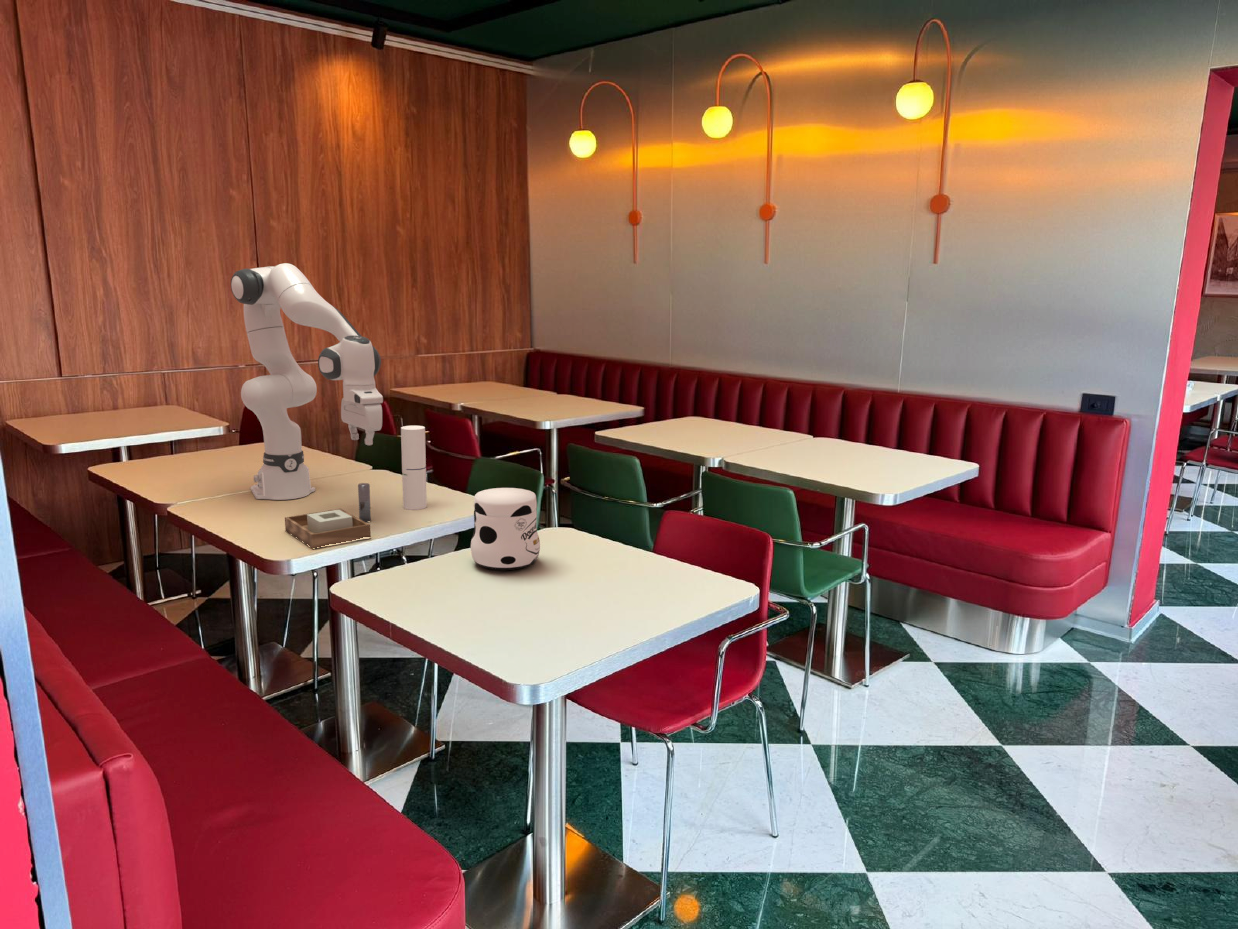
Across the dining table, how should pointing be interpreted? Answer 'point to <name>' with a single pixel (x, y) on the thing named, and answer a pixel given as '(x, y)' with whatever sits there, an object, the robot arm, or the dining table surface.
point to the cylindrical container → (413, 467)
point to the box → (300, 530)
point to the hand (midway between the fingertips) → (361, 442)
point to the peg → (364, 502)
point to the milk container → (505, 529)
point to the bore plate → (328, 521)
